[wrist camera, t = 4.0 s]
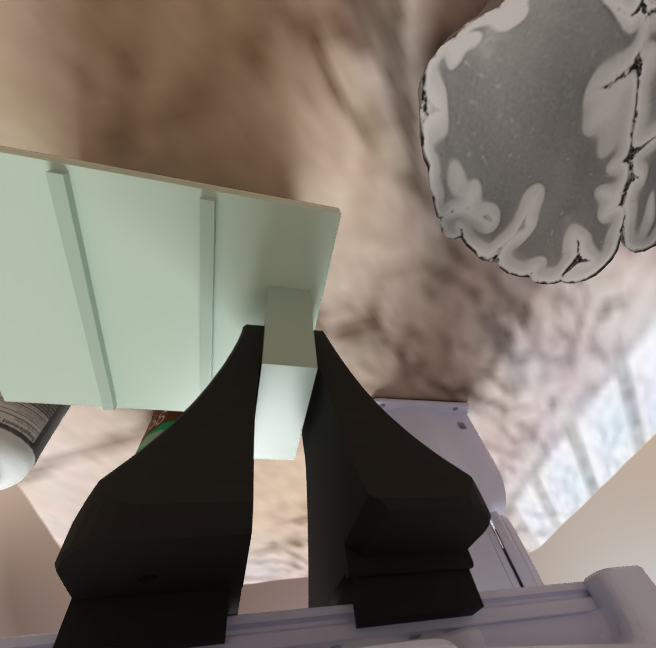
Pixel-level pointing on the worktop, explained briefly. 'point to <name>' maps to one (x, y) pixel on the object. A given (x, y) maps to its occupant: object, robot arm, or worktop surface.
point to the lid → (155, 289)
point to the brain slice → (545, 134)
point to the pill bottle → (24, 436)
